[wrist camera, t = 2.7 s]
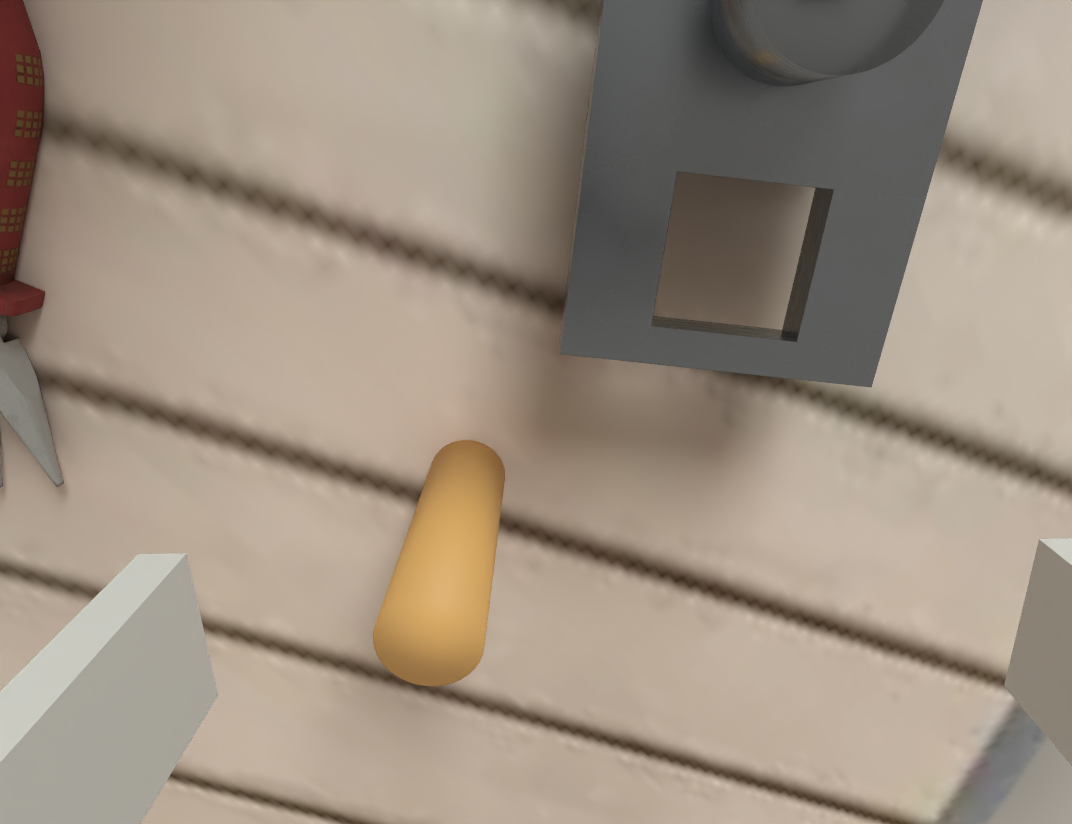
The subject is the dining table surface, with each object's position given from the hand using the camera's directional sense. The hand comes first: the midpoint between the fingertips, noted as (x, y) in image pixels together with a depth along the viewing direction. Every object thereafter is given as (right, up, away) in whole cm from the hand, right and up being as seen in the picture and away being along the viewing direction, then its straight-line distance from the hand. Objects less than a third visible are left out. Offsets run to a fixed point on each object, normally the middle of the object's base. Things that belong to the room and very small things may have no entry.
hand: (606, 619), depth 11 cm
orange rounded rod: (-4, +1, +20) cm, 20 cm away
